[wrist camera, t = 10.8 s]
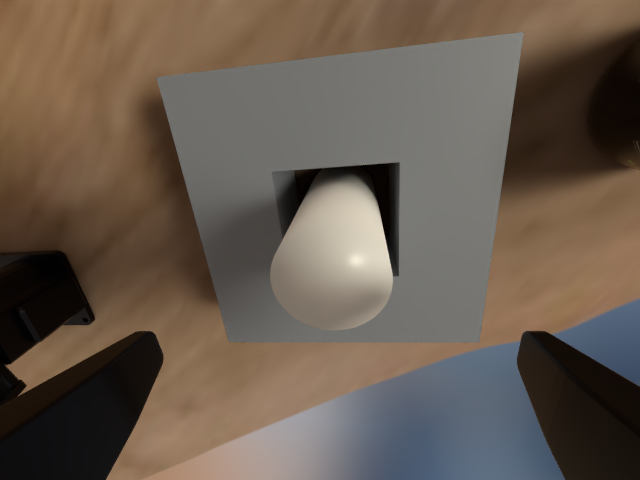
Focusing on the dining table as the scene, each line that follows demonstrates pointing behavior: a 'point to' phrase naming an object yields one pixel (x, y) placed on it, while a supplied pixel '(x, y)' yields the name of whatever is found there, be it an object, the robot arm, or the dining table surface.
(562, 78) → the dining table surface
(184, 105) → the socket block
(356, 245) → the peg
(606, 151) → the supplement bottle
